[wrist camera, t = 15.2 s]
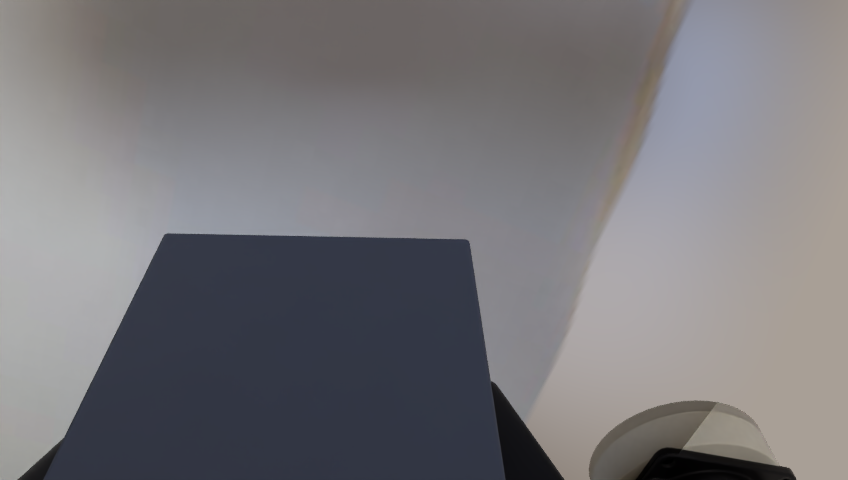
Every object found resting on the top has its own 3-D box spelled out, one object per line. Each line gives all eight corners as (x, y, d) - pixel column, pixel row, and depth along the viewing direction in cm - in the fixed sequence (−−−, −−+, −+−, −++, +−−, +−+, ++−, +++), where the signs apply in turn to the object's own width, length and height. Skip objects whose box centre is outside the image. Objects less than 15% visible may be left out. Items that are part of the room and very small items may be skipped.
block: (469, 238, 9) (510, 498, 6) (449, 438, 12) (471, 708, 8) (163, 231, 9) (32, 497, 6) (203, 437, 11) (124, 714, 8)
